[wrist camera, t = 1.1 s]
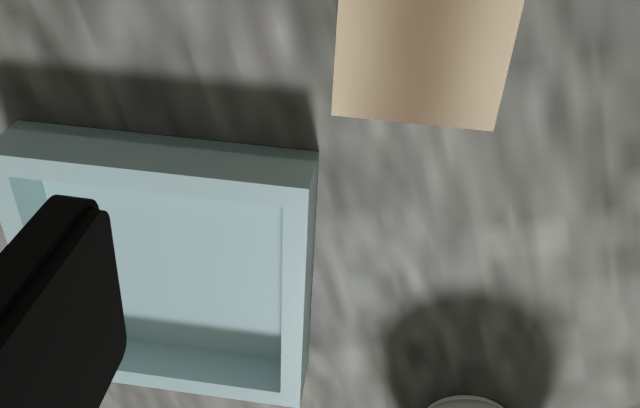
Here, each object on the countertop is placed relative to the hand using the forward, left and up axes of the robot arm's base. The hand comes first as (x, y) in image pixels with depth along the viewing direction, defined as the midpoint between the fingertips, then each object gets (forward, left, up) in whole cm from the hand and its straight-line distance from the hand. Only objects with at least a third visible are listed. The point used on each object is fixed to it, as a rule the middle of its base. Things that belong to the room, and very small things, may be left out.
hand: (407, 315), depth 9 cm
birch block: (0, 0, -20) cm, 20 cm away
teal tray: (+12, +16, -20) cm, 28 cm away
